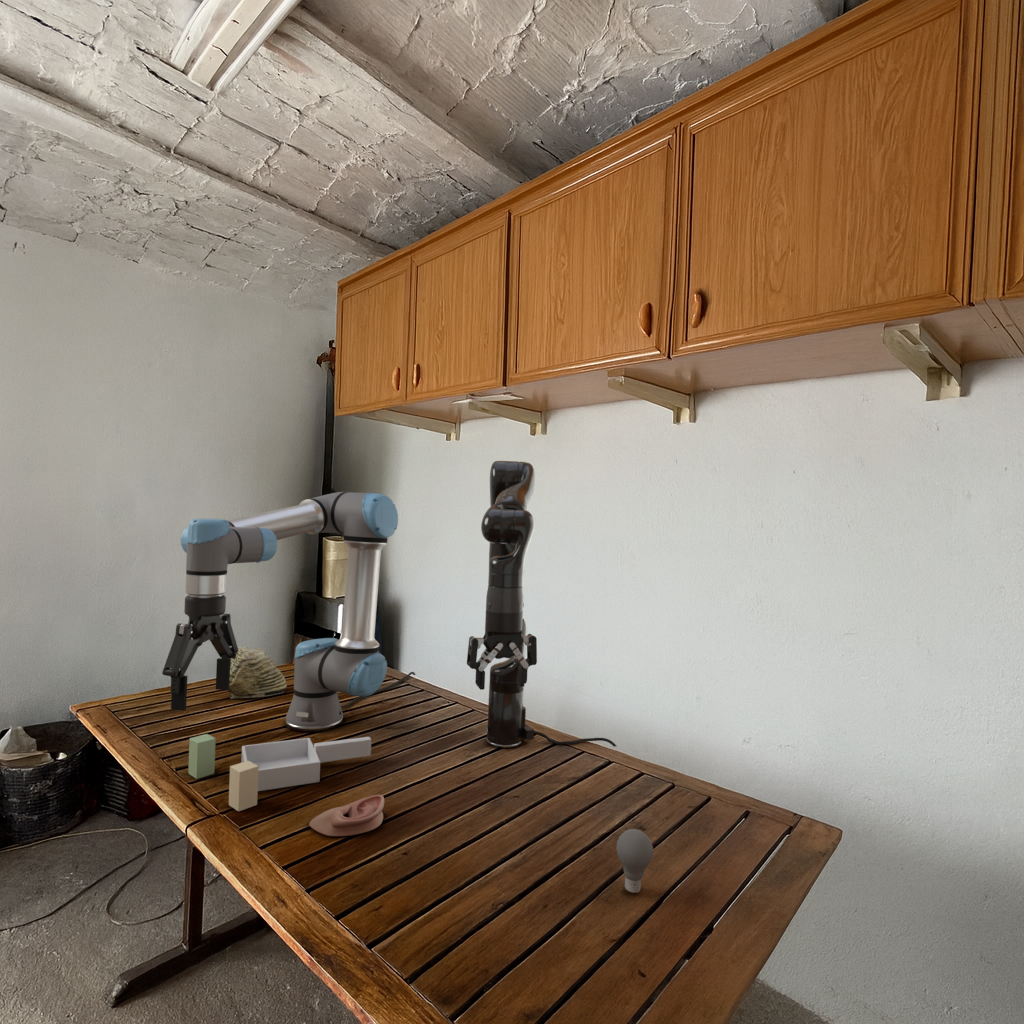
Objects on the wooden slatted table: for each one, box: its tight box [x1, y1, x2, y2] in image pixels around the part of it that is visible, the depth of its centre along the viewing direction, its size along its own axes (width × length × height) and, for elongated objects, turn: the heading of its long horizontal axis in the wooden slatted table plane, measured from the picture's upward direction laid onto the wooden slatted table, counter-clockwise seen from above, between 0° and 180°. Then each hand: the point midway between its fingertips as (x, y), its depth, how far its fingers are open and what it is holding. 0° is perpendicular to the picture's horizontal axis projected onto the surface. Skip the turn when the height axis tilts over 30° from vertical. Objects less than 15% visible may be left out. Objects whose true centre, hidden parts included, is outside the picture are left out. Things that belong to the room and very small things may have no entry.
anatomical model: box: [308, 794, 385, 837], centre depth 124 cm, size 13×4×12 cm
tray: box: [240, 736, 372, 792], centre depth 147 cm, size 28×15×6 cm, turn 116°
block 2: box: [228, 761, 259, 812], centre depth 129 cm, size 4×4×8 cm
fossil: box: [227, 646, 288, 699], centre depth 198 cm, size 9×18×15 cm, turn 132°
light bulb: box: [615, 828, 654, 894], centre depth 106 cm, size 6×6×10 cm
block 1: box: [187, 733, 217, 780], centre depth 142 cm, size 4×4×8 cm
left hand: (201, 699), depth 129 cm, fingers open, 13 cm apart
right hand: (501, 687), depth 129 cm, fingers open, 8 cm apart
